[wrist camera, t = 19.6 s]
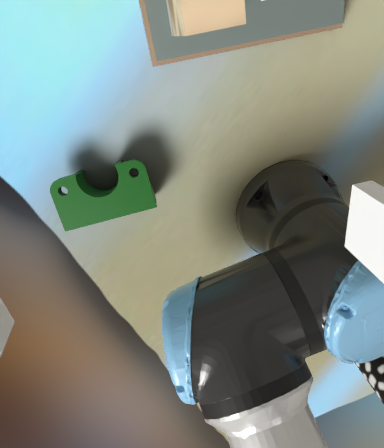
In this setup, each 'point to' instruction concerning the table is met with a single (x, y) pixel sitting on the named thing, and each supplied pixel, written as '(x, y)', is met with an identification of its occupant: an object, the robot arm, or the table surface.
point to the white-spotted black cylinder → (374, 375)
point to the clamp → (103, 197)
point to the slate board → (239, 27)
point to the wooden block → (204, 15)
